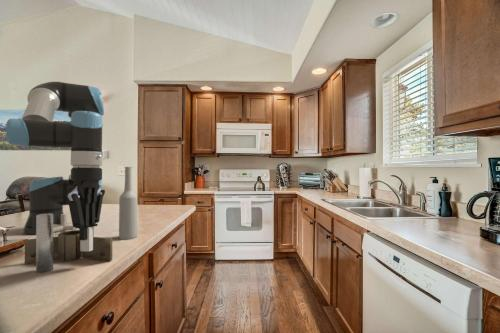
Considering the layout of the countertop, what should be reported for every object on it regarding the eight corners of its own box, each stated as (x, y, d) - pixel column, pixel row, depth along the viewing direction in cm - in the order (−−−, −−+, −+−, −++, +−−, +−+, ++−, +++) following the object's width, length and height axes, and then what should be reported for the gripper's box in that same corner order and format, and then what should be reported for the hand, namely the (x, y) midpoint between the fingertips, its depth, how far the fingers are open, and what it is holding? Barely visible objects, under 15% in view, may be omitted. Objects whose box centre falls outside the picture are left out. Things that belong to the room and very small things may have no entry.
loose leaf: (81, 258, 79) (81, 236, 79) (84, 257, 80) (84, 236, 80) (109, 261, 77) (109, 239, 77) (112, 260, 78) (112, 238, 78)
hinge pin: (38, 269, 72) (38, 214, 72) (54, 266, 73) (54, 213, 73) (34, 273, 68) (34, 216, 68) (51, 271, 70) (51, 215, 70)
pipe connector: (62, 245, 93) (62, 217, 93) (39, 243, 95) (39, 216, 95) (85, 238, 103) (85, 212, 103) (64, 236, 105) (64, 211, 105)
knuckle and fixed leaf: (28, 259, 79) (29, 234, 79) (87, 252, 86) (87, 229, 86) (20, 267, 73) (20, 240, 73) (84, 259, 79) (84, 234, 79)
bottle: (128, 234, 108) (128, 166, 109) (140, 236, 106) (141, 166, 106) (115, 238, 102) (115, 166, 102) (128, 240, 100) (128, 166, 100)
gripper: (82, 166, 67) (82, 259, 67) (113, 167, 80) (113, 244, 80) (55, 166, 68) (55, 258, 68) (90, 166, 81) (90, 243, 81)
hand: (86, 250), depth 74 cm, fingers closed
